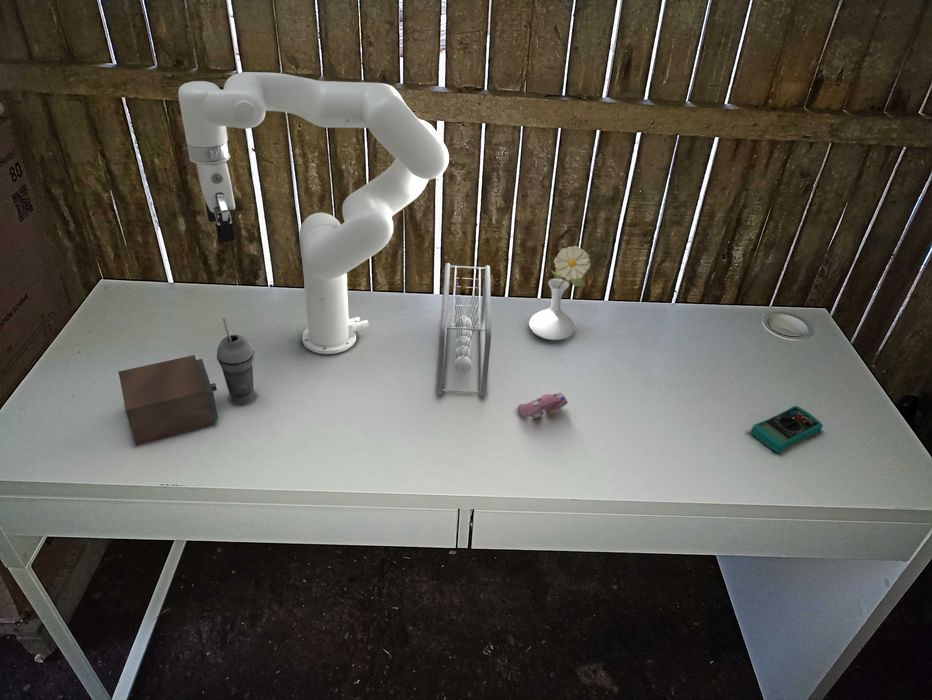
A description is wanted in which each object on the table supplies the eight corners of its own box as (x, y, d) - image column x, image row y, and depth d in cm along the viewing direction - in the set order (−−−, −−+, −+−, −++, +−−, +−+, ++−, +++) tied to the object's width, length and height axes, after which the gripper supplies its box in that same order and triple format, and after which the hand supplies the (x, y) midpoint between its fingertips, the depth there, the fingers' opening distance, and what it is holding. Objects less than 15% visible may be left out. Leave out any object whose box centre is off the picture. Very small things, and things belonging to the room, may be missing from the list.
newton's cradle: (442, 321, 180) (445, 259, 169) (484, 323, 180) (490, 261, 169) (436, 398, 156) (439, 331, 145) (485, 401, 156) (491, 334, 145)
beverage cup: (251, 411, 149) (238, 332, 137) (218, 405, 150) (203, 326, 138) (266, 390, 155) (255, 312, 143) (234, 384, 156) (221, 306, 144)
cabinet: (201, 388, 154) (194, 354, 148) (213, 425, 145) (206, 390, 140) (128, 406, 148) (118, 371, 143) (136, 445, 139) (125, 409, 134)
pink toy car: (523, 427, 152) (534, 414, 146) (514, 408, 154) (524, 394, 148) (561, 414, 156) (574, 401, 150) (552, 396, 158) (564, 382, 152)
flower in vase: (519, 330, 178) (530, 241, 164) (545, 313, 186) (558, 225, 171) (562, 353, 172) (578, 261, 157) (588, 333, 179) (605, 244, 164)
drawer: (213, 384, 154) (207, 357, 150) (224, 417, 146) (219, 389, 141) (139, 401, 148) (132, 373, 144) (147, 436, 140) (139, 408, 136)
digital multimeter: (821, 432, 154) (826, 422, 152) (776, 455, 147) (781, 445, 146) (793, 412, 159) (797, 402, 157) (748, 434, 152) (752, 423, 150)
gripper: (238, 164, 133) (249, 246, 143) (219, 133, 146) (231, 210, 156) (196, 169, 130) (211, 252, 140) (180, 137, 143) (195, 215, 153)
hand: (221, 230), depth 148 cm, fingers open, 9 cm apart
